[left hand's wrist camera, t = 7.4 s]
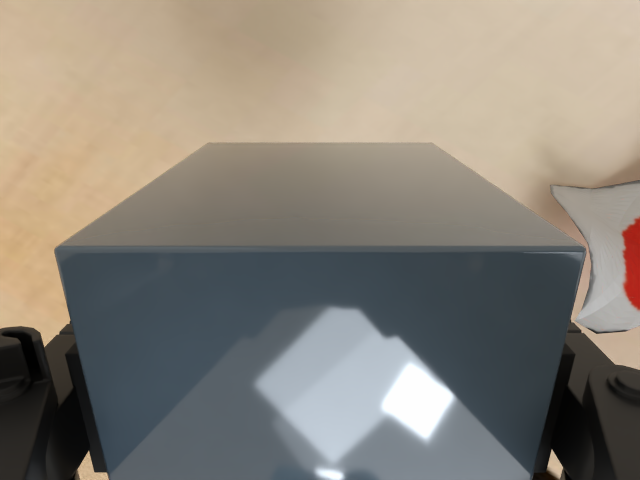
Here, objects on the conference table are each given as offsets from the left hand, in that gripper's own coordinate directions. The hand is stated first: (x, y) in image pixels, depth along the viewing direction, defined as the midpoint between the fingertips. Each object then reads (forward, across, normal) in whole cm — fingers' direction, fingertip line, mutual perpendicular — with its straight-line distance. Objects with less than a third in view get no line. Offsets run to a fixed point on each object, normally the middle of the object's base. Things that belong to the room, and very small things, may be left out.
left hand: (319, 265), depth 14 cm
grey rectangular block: (+1, 0, 0) cm, 1 cm away
